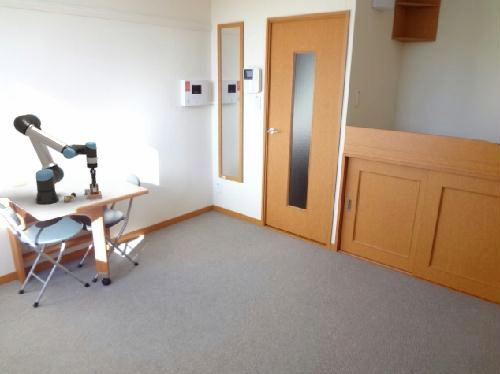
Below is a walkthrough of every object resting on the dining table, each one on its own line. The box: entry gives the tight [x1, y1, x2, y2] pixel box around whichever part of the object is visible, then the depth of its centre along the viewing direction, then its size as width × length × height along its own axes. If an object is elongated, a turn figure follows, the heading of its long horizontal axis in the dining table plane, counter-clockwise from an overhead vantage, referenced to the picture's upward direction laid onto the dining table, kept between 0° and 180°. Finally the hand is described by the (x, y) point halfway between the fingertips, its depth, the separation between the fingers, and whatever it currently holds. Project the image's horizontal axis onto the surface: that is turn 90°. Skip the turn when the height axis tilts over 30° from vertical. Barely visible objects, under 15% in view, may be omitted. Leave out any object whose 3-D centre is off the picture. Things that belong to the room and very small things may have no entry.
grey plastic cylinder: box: [83, 188, 90, 196], centre depth 310 cm, size 4×4×4 cm
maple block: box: [63, 194, 75, 204], centre depth 291 cm, size 6×4×4 cm, turn 134°
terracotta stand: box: [87, 190, 103, 200], centre depth 304 cm, size 10×10×3 cm
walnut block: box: [89, 182, 100, 195], centre depth 303 cm, size 6×6×7 cm
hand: (94, 189), depth 303 cm, fingers open, 13 cm apart
